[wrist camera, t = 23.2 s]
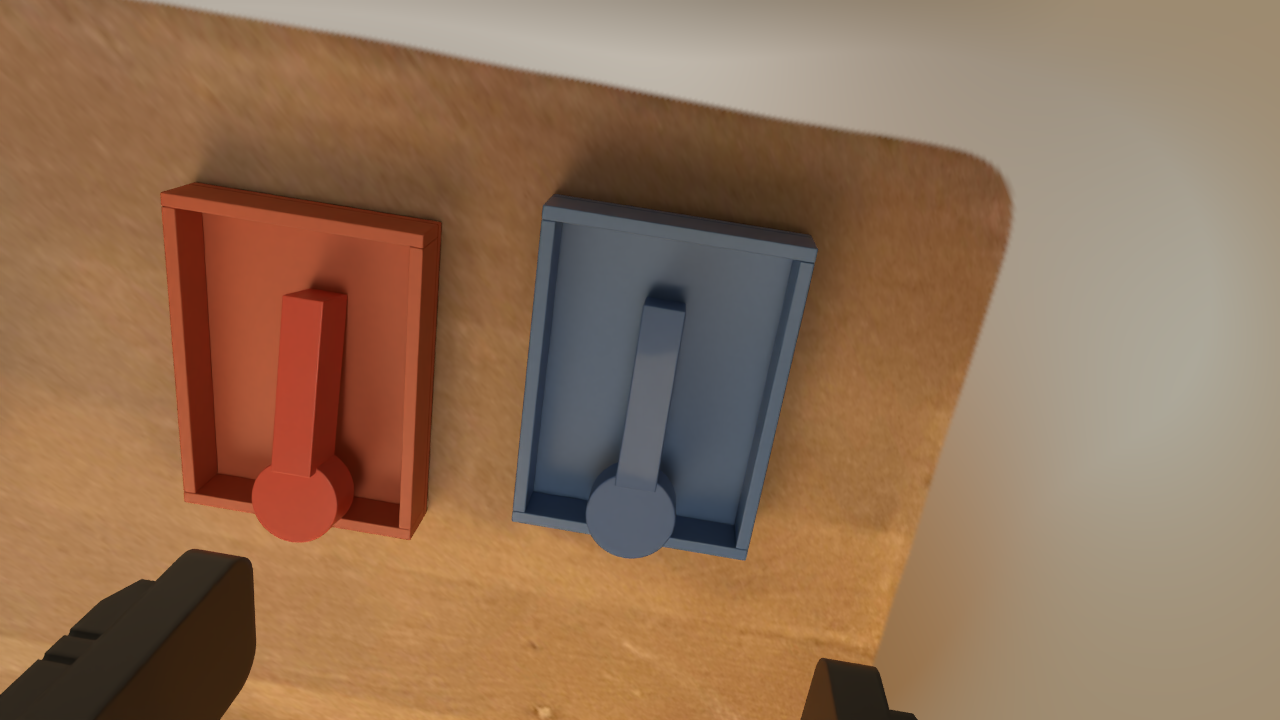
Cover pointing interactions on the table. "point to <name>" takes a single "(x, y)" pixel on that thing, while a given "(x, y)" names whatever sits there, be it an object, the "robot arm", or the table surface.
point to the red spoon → (306, 422)
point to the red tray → (250, 334)
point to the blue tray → (706, 371)
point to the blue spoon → (642, 445)
